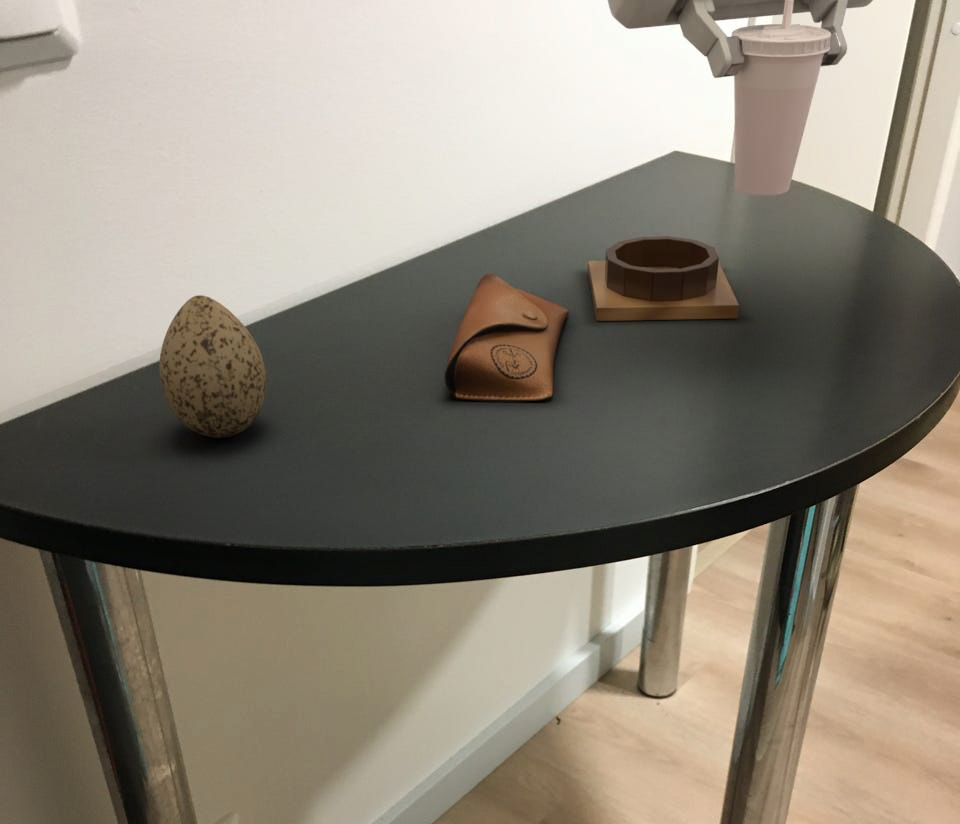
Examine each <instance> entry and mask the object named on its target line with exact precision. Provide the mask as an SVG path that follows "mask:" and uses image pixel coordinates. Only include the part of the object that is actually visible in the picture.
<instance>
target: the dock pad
mask: <svg viewBox="0 0 960 824" xmlns="http://www.w3.org/2000/svg"><path fill="white" fill-rule="evenodd" d="M719 261H720V256H719V254H718V252H717V250H716V248H715V246H711V245H709V244H707V243H704V242H703V241H699V240H698V239H697V240H696V239H691V238H684V237H678V236H669V235H666V236H665V235H659V236H657V235H656V236H639V237H633V238H629V239H625V240H620V241H617V242H616V243H614V244H613V245H611V246H610V247H608V248H606V250H605V260H588V261H587V276H588V277H587V278H588V283H589V288H590V293H591V299H592V303H593V310H594V315H595V321H596V322H614V321H615V322H616V321H617V322H620V321H624V322H625V321H666V320H667V321H668V320H669V321H671V320H719V319H720V320H721V319H726V320H727V319H738V317H739V308H740V304H739V302H738V300H737V298H736V296H735V294H734V292H733V289H732V287H731V285H730V283H729V281H728V279H727V277H726V274H725V272H724V270H723V268H722V266H721V264H720V262H719Z"/></svg>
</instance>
